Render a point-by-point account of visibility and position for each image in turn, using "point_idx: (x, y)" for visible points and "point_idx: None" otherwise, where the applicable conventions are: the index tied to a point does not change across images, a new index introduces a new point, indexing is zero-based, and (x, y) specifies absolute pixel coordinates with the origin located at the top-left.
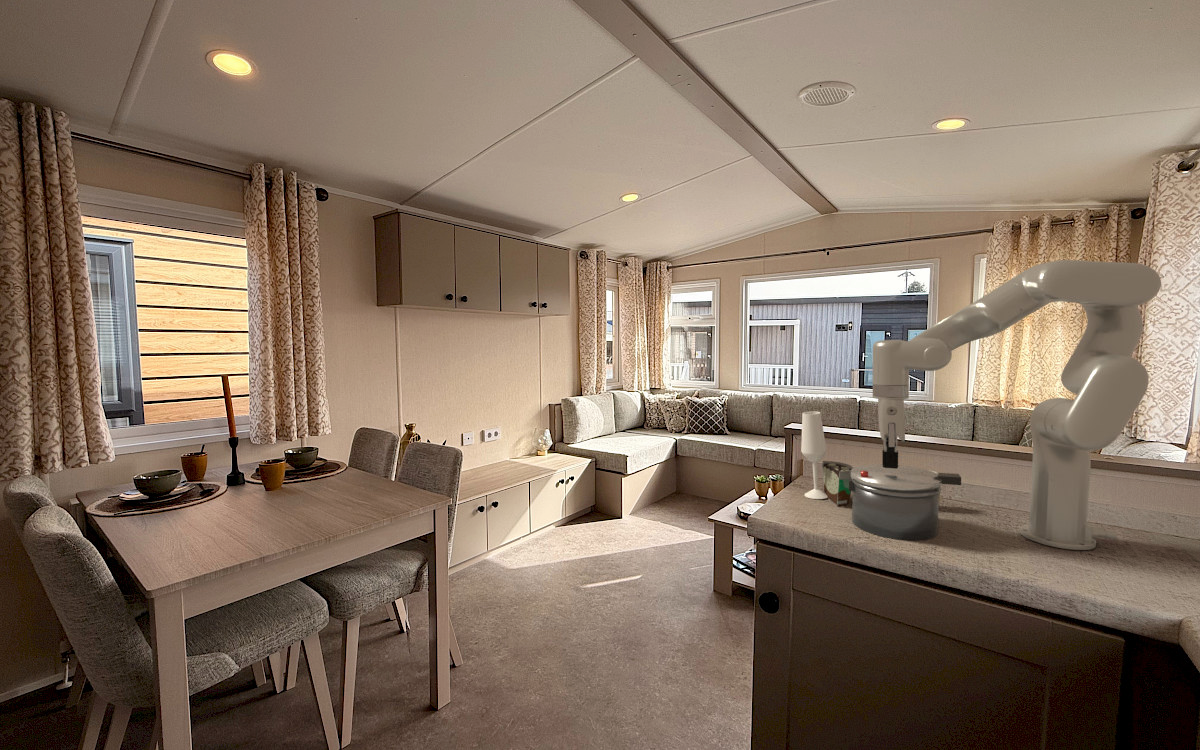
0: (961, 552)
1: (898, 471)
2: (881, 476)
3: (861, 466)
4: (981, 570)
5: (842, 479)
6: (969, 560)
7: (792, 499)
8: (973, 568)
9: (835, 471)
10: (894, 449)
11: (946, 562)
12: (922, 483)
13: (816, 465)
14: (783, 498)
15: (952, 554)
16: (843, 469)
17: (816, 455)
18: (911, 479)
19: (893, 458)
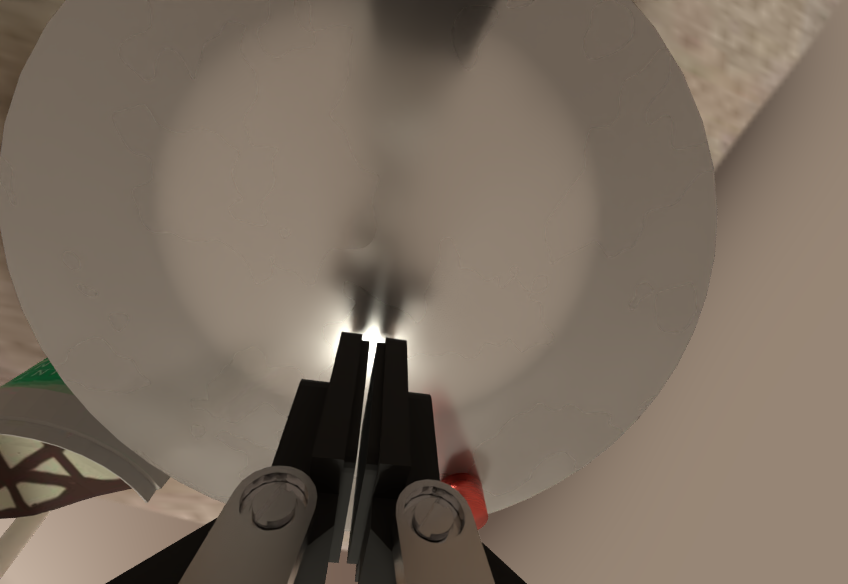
0: (660, 11)
1: (277, 273)
2: (457, 410)
3: (179, 471)
4: (828, 4)
5: None
6: (738, 12)
7: (195, 491)
8: (807, 31)
9: (93, 496)
10: (502, 565)
11: (746, 119)
12: (673, 193)
13: (1, 559)
14: (197, 513)
15: (678, 63)
16: (10, 458)
17: None
18: (543, 242)
19: (434, 447)
